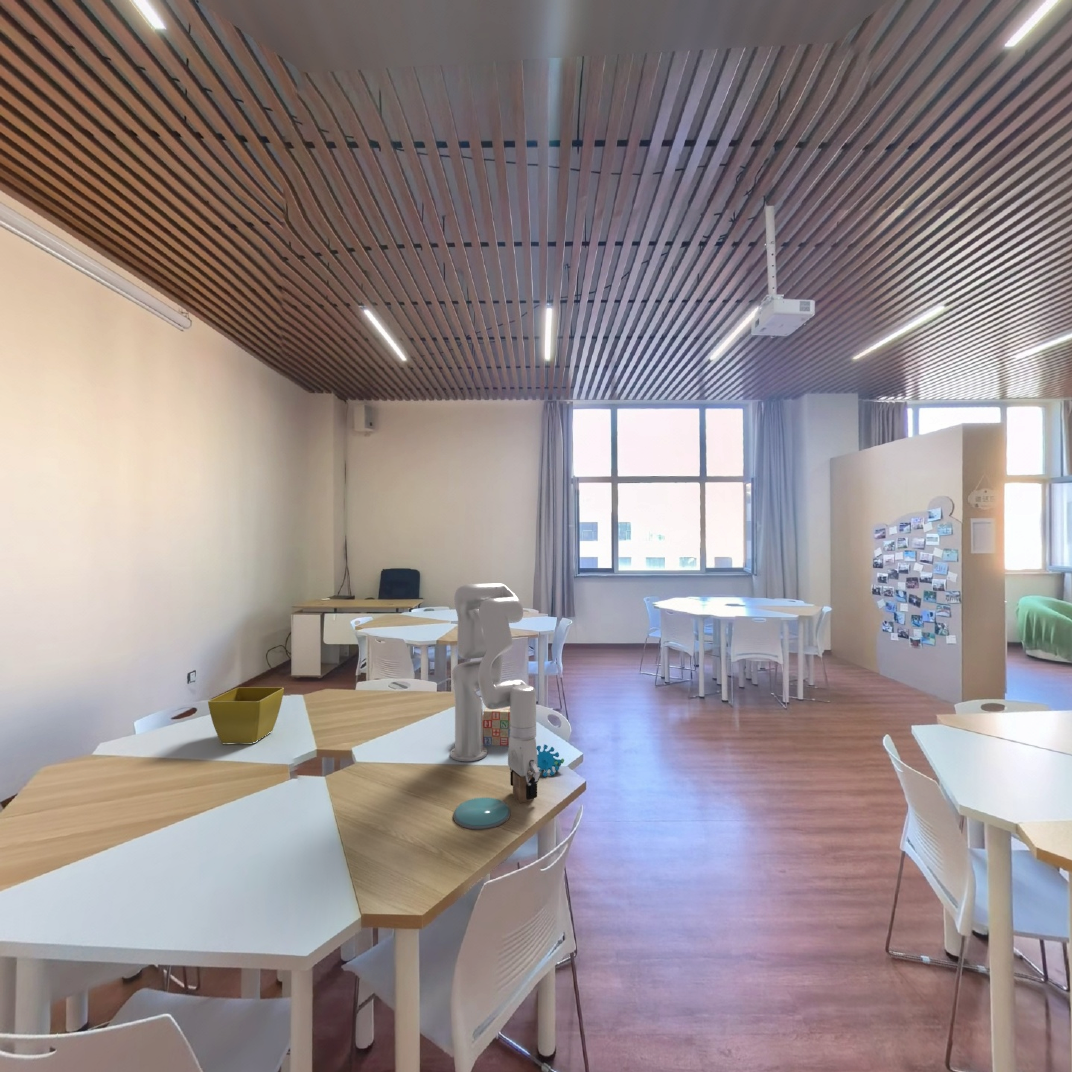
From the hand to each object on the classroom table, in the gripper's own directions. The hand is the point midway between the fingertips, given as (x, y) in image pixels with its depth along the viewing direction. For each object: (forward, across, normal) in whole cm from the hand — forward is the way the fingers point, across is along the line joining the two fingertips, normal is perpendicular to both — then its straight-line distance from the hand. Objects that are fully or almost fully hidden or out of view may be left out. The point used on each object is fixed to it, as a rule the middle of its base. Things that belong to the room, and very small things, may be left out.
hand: (523, 791), depth 148 cm
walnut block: (+2, 0, 0) cm, 2 cm away
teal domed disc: (+2, +3, -14) cm, 14 cm away
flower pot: (+2, -93, -69) cm, 116 cm away
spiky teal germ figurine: (+2, -12, +14) cm, 19 cm away
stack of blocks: (+2, -45, +9) cm, 46 cm away
